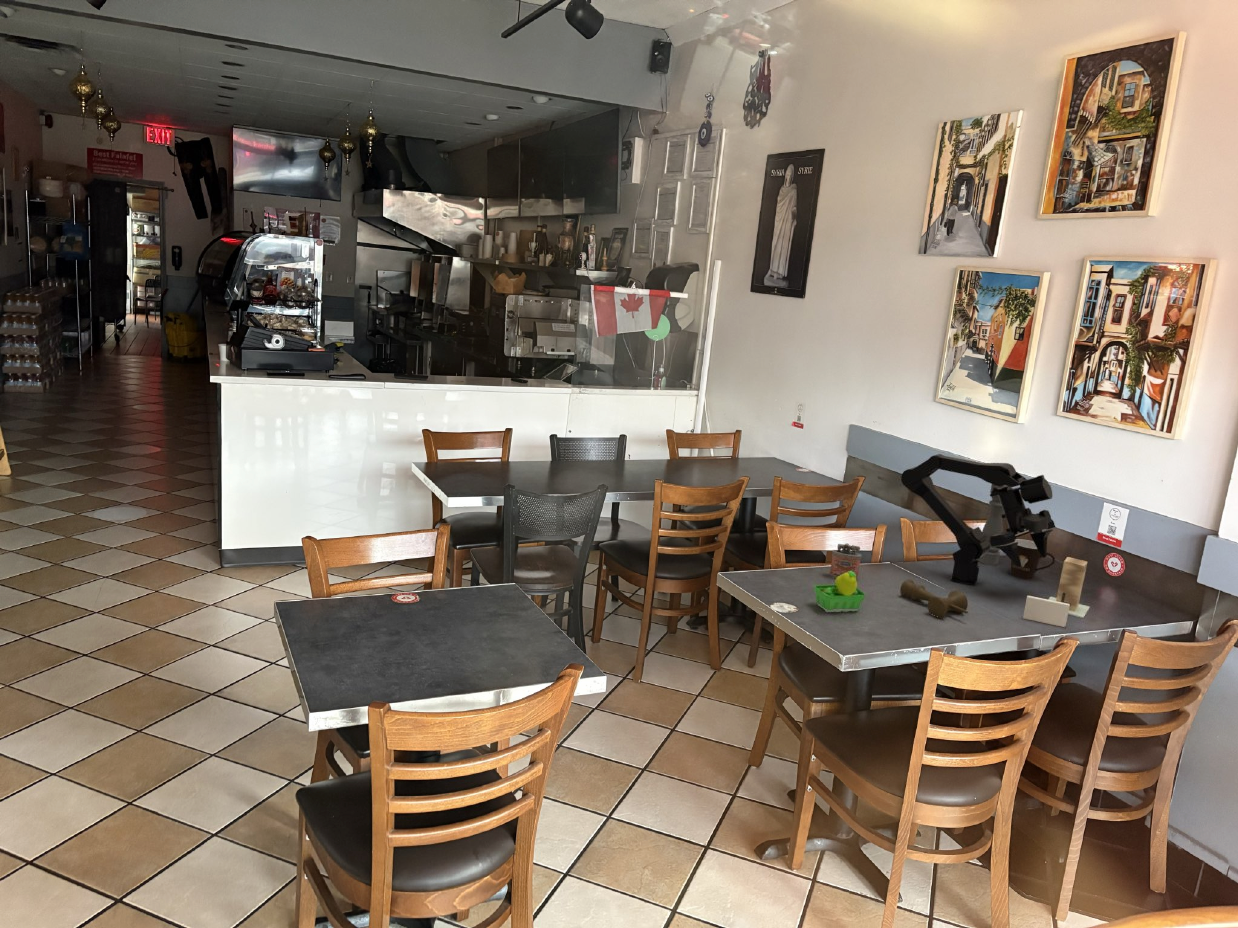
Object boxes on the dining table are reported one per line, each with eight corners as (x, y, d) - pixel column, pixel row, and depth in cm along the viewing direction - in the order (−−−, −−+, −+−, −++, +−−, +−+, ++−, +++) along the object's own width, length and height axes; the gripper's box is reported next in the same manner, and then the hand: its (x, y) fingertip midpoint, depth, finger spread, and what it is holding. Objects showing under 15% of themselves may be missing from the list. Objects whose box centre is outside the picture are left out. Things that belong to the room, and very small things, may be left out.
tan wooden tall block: (1054, 606, 244) (1064, 561, 241) (1058, 601, 248) (1067, 556, 245) (1074, 611, 241) (1084, 566, 238) (1078, 606, 245) (1087, 561, 242)
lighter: (828, 577, 253) (833, 543, 251) (829, 573, 256) (834, 540, 254) (857, 582, 251) (862, 548, 248) (858, 578, 254) (863, 545, 252)
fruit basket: (848, 601, 236) (854, 561, 233) (867, 615, 227) (873, 573, 225) (810, 603, 232) (815, 562, 229) (827, 617, 224) (833, 574, 221)
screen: (1023, 618, 234) (1027, 596, 233) (1023, 616, 235) (1027, 595, 234) (1065, 627, 230) (1069, 605, 229) (1064, 625, 231) (1069, 603, 230)
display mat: (1042, 607, 243) (1043, 605, 243) (1050, 597, 251) (1050, 596, 251) (1083, 618, 238) (1083, 616, 237) (1089, 608, 246) (1089, 606, 245)
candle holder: (999, 565, 276) (1014, 487, 270) (978, 563, 277) (993, 485, 271) (995, 559, 282) (1010, 483, 276) (975, 556, 283) (989, 480, 277)
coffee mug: (999, 571, 270) (1005, 540, 268) (1020, 569, 274) (1026, 538, 272) (1031, 585, 260) (1038, 553, 258) (1052, 583, 264) (1058, 551, 261)
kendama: (915, 594, 246) (978, 620, 230) (891, 600, 241) (954, 627, 225) (918, 574, 245) (981, 598, 229) (894, 579, 240) (957, 604, 224)
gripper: (1009, 512, 237) (1028, 569, 236) (1061, 495, 244) (1080, 550, 242) (980, 517, 248) (998, 572, 246) (1030, 500, 254) (1048, 553, 253)
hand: (1032, 562), depth 247 cm, fingers open, 9 cm apart
